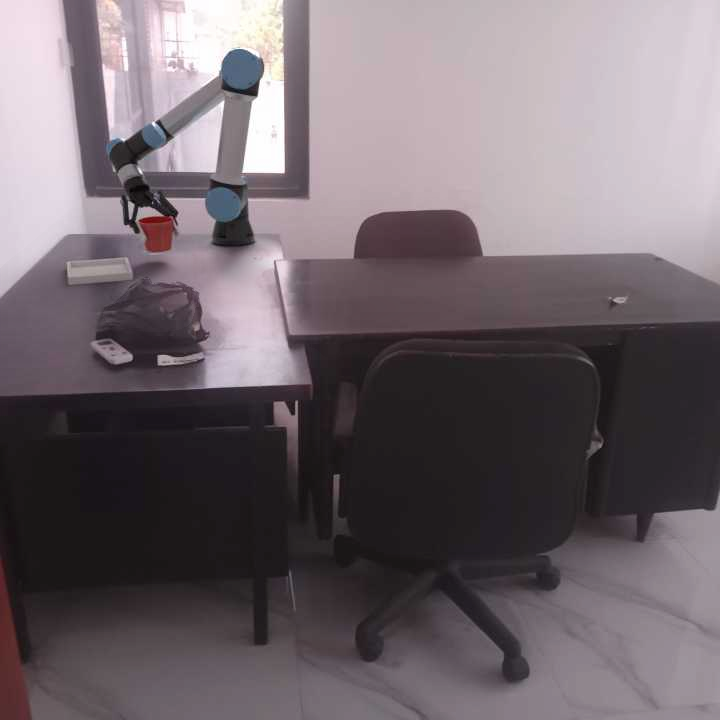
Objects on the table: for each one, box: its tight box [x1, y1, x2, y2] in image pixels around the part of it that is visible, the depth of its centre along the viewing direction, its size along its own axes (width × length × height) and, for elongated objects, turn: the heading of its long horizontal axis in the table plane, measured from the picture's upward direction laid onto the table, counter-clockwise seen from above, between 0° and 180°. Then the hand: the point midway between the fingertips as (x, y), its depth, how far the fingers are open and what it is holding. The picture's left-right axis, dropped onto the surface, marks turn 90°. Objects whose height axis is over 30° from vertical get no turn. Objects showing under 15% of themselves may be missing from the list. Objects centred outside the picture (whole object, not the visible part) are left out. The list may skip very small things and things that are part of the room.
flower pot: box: [137, 215, 174, 253], centre depth 237 cm, size 11×11×10 cm
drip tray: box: [66, 257, 134, 286], centre depth 225 cm, size 18×18×2 cm
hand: (161, 238), depth 235 cm, fingers closed on flower pot, 11 cm apart
